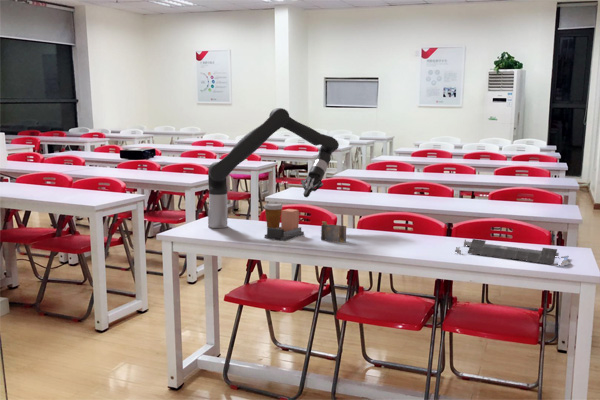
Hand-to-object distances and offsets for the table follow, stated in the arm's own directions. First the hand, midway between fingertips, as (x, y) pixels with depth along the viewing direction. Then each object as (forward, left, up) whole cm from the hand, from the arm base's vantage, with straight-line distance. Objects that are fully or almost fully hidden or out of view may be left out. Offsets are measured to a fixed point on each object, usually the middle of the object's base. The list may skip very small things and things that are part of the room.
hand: (305, 196), depth 291 cm
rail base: (-8, -17, -17) cm, 25 cm away
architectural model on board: (+16, -23, -18) cm, 33 cm away
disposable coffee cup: (-17, +4, -17) cm, 25 cm away
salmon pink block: (-6, -13, -15) cm, 21 cm away
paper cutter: (+92, -39, -18) cm, 102 cm away
